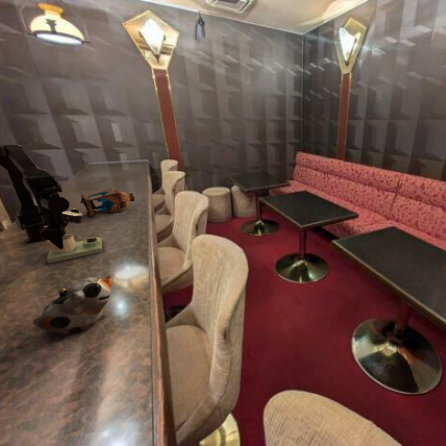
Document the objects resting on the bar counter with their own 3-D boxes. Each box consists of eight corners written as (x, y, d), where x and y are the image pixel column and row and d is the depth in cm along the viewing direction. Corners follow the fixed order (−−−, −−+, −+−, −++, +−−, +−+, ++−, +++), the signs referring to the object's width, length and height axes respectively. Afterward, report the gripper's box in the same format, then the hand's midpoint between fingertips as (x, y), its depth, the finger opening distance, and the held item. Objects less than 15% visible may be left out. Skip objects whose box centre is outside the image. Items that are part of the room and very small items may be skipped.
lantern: (90, 226, 140) (139, 214, 157) (86, 210, 129) (139, 199, 146) (79, 203, 144) (128, 194, 161) (75, 186, 132) (128, 178, 149)
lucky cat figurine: (71, 302, 72) (89, 260, 72) (112, 317, 74) (130, 275, 73) (18, 328, 57) (40, 275, 57) (71, 346, 59) (93, 294, 58)
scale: (48, 263, 91) (45, 255, 90) (52, 251, 100) (49, 243, 99) (103, 251, 101) (101, 244, 100) (102, 241, 110) (100, 234, 108)
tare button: (87, 243, 101) (86, 239, 100) (87, 240, 103) (86, 237, 102) (96, 241, 102) (95, 238, 102) (96, 239, 104) (95, 235, 104)
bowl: (52, 248, 98) (48, 237, 97) (77, 243, 103) (73, 232, 101) (50, 255, 93) (46, 244, 91) (76, 250, 97) (72, 239, 95)
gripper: (76, 210, 89) (88, 248, 95) (78, 198, 103) (89, 232, 109) (33, 216, 83) (48, 256, 88) (41, 202, 96) (54, 238, 102)
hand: (62, 245), depth 97 cm, fingers closed on bowl, 7 cm apart
